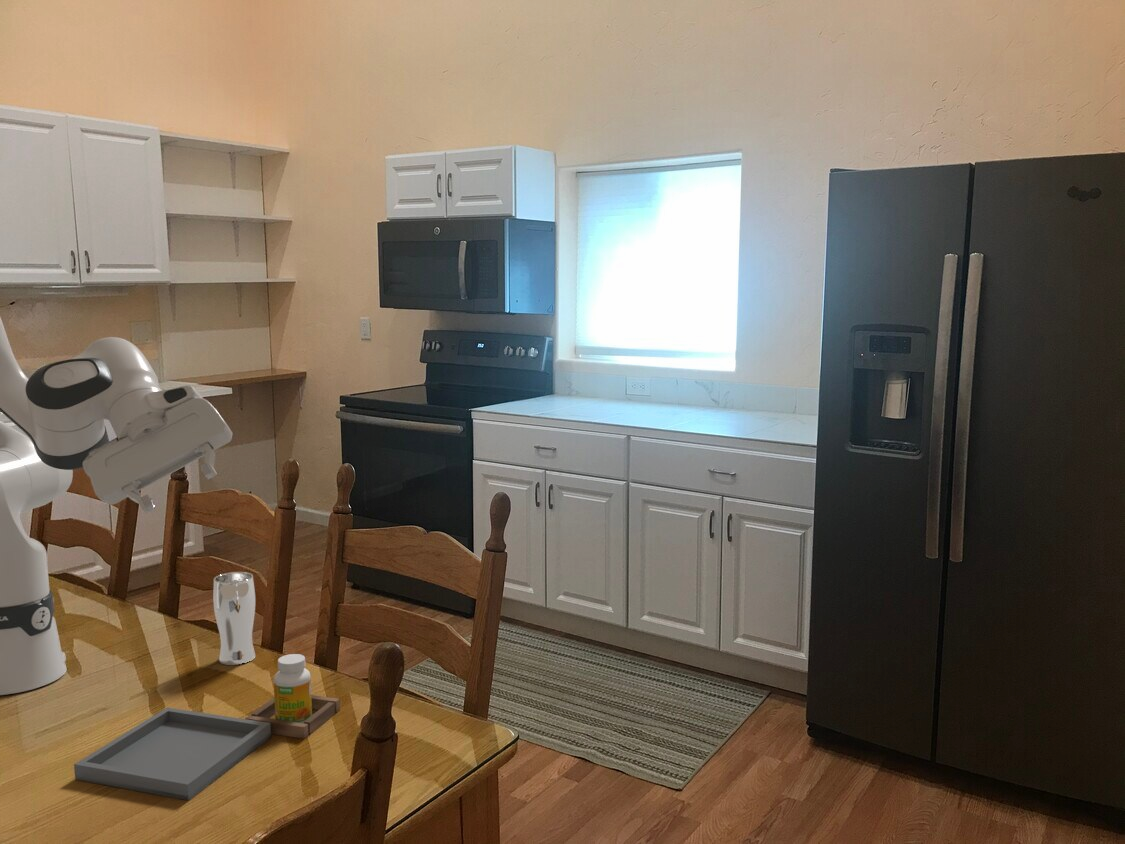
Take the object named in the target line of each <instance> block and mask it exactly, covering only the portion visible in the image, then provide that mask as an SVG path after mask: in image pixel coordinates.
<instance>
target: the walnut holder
mask: <svg viewBox="0 0 1125 844" xmlns="http://www.w3.org/2000/svg"><path fill="white" fill-rule="evenodd" d="M340 699H341V698H335V697H329V696H323V695H321V696H320V695H316V694H311V701H312V710H317V711H315V712H314V713H312V716H311V717H309V718H308V719H307V720H306V721H304V723H297V722H290V721H284V720H277V719H275V718H271V717H272V716H273V715H275V698H274V697H273V698H271V699H270V700H269V701H267V702H266V703H265V704H263V705H262V706H261V707H259V708H258V709H256V710H254V711H253V712H251V713H250V714H251V715H248V716H246V717H244V719H247V720H253V721H260V722H267V723H270V728H271V735H277V736H284V737H290V738H296V739H298V738H299V739H303V740H305V739H306V738H308V737H309V735H311V734H312V733H314V732H315V731H316V730H317V729H319V728H320V727H321V726H323V725H324V723H326V722H327V721H329V720H330V718H332V717H333V716H334V715H335V714H336V713H338V712H339V711H340V710H341V702H340Z"/></svg>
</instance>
